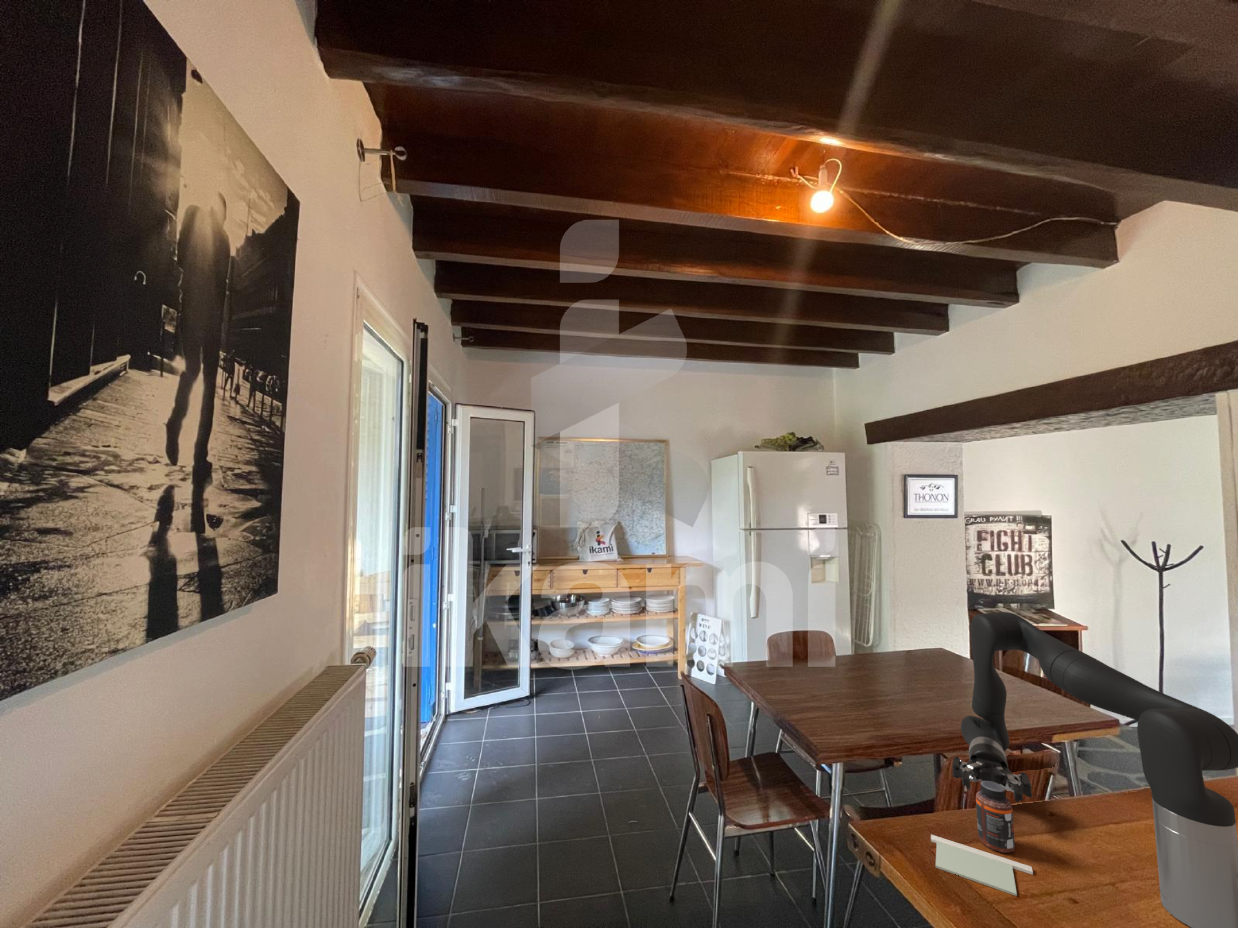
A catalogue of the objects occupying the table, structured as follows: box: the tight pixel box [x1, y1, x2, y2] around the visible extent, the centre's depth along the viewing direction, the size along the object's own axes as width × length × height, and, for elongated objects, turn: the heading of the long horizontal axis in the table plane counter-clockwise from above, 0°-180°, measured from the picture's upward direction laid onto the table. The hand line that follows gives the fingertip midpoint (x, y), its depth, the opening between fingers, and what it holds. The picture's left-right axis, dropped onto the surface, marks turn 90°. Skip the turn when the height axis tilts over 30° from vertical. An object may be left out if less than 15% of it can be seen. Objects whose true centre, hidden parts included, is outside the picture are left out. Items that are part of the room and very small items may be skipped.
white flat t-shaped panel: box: [930, 834, 1034, 897], centre depth 92 cm, size 16×10×1 cm, turn 56°
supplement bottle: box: [975, 781, 1016, 854], centre depth 99 cm, size 6×6×11 cm
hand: (992, 790), depth 106 cm, fingers open, 8 cm apart
